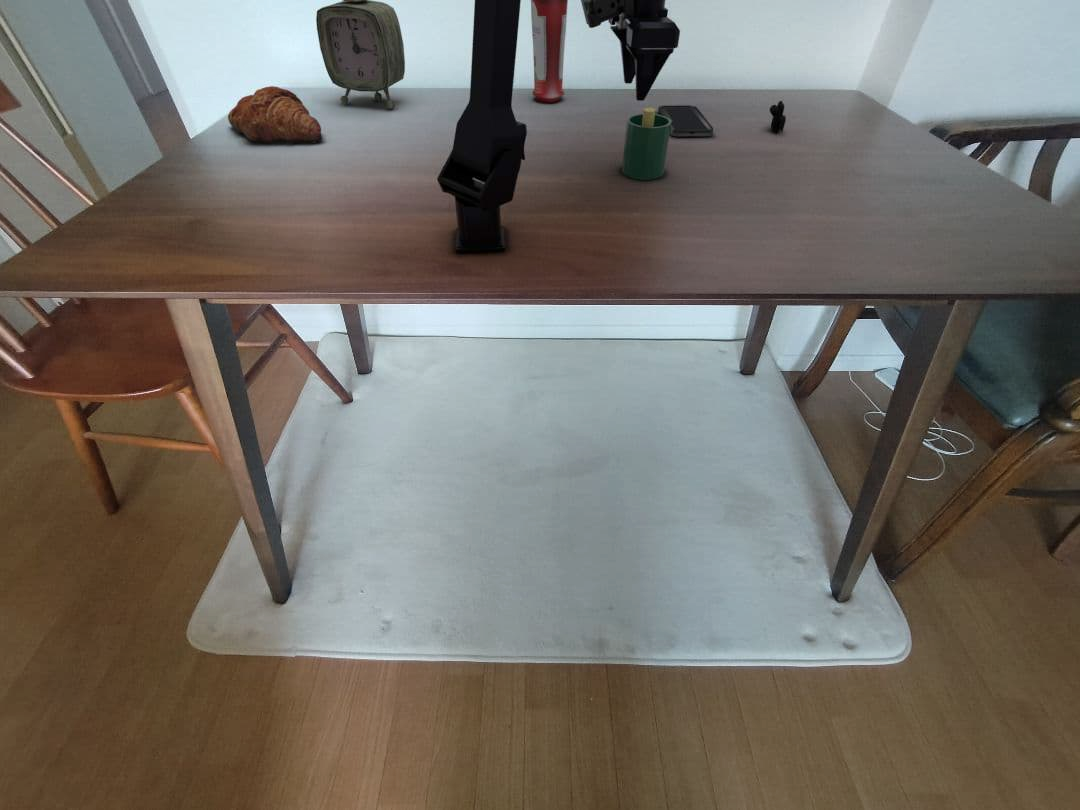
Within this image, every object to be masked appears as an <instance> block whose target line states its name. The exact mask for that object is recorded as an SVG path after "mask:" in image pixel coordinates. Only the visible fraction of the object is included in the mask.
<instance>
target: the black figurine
mask: <svg viewBox="0 0 1080 810" xmlns="http://www.w3.org/2000/svg"><path fill="white" fill-rule="evenodd" d="M784 112H785V104H784V103H783V100H779V101H778V102H777V104H772V105H771V106H770V107H769V113H770V114H771V117H772V119H771V123H770V128H771V130H772V132H773V133H779V132H781V133H783V132H784V129H785V126H786V125H785V124H786V122H787V117H786V115H784Z"/></svg>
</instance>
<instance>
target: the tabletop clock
mask: <svg viewBox="0 0 1080 810" xmlns="http://www.w3.org/2000/svg"><path fill="white" fill-rule="evenodd" d="M315 22H316V31H317V32H316V33H317V38H318V44H319V50H320V53H321V56H322V60H323V63H324V66H325V70H326V72H327V74H328V77H329V78H330V81H331V82H332V84H334V85H336V86H337V87H339V88H342V89H345V94H344V95H342V96H341V97H340V102H341V103H342V104H343V105H348V103H349V101H350V100H349V95H350V92H351V91H356V92H372V93H373V92H374V99H375V100H376V101H377V102H380V101H382V100H383V94H382V93H381V92H382V91H383V92H384V95H385V98H386V99H387V102H386V107H387V109H389V110H393V109H394V108H395V105H396V104H395V102H394V100H391V96H390V92H389V88H390V87H392V86H393V85H395V84H397V83H399V82H400V81H402V80H404V77H405V73H406V58H405V45H404V39H403V35H402V30H401V25H400V21H399V18H398V14H397V13H396V10H395V8H394V7H393V6H391V5H390V4H388V3H385V2H382V1H377V0H341V1H339V2H335V3H333V4H329V5H326V6H323V7H321V8H319V9H317V10H316V17H315Z"/></svg>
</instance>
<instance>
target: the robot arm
mask: <svg viewBox="0 0 1080 810" xmlns="http://www.w3.org/2000/svg"><path fill="white" fill-rule="evenodd" d="M580 2H581V6H582V11H583V15H584V19H585V23H586V25H588V28H590V29H594V28H596V27H599V26H601V24H602V23H604V22H607V21H608V23H609V24H610V27H609V29H610V30H611V32H612V33H613V34H614V35H615V37H616V38H617V39H618V40H619V44H620V52H621V63H622V73H623V81H624V82H623V83H624V84H626V85H627V84H629V85H630V84H632V83H633V81H634V79H635V99H636V101H638V102H639V101H640V102H642V101H645V100H646V98H647V96H648V94H649V92H650V91H651V89H652V87H653V85H654V84H655V82H656V80H657V78H658V76H659V75H660V72H661V71H662V68H663V67H664V66H665V64H666V62H667V61H668V59H669V57H670V55H672V54H673V53H674V50H675V49H677V48H679V42H680V35H681V29H680V28H679V27H678V25H677V24H676V22H675V21H674V20H672V19H671V18H670V17H668V14H669V9H668V8H667V7H666V0H580ZM521 3H522V0H474V9H473V27H472V46H471V47H472V48H471V51H472V52H471V64H470V65H471V66H470V87H469V100H468V103H467V105H466V107H465V108H464V110H463V112H462V113H461V115H460V117H459V118H458V121H457V123H456V125H455V131H454V132H455V133H454V138H453V143H452V144H453V145H452V150H451V152H450V153H449V155H448V157H447V158H446V161H445V163H444V164H443V166H442V169H441V171H440V172H439V173H438V176H437V178H436V179H437V182H438V185H439V186H440V190H441V191H442V193H445V194H448V195H450V196H453V197H454V203H455V213H456V223H457V227H456V228H455V245H454V246H455V247H454V248H455V252H456V253H484V252H504V251H505V250H506V241H505V227H504V226H503V225H502V221H501V206H503V205H505V204H508V203H510V202H513V199H514V195H515V190H516V185H517V181H518V177H519V173H520V170H521V165H522V161H525V160H526V156H525V154H526V153H525V144H526V138H527V136H528V135H527V134H528V130H527V125H526V123H524V122H520V121H517V120H516V116H515V113H514V110H513V104H512V103H513V92H514V79H515V71H516V70H515V68H516V59H517V45H518V35H519V25H520V13H521Z"/></svg>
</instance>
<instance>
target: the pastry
mask: <svg viewBox="0 0 1080 810" xmlns="http://www.w3.org/2000/svg"><path fill="white" fill-rule="evenodd" d="M227 121H228V123H229V124H230V126H231V127H232V128H233V129H235V130H236V131H238V132H239V133H240V134H241V135H244V136H245V137H246V138H247V139H248V140H250V141H251V142H253V143H257V144H258V143H259V144H267V143H269V144H271V143H272V144H273V143H278V142H279V143H280V142H288V143H308V144H310V143H311V144H312V143H317V142H321V141H322V140H323V136H322V127H321V124H320V122H319V121H318V120H317V119H316V118H315V117H313V116H311V114H310V112H309V110H308V109H307V108H306V106H305V105H304V103H303V101H302V100H301V99H300V98H299V97H298V96H297V94H295V93H294V92H292V91H291V90H289V89H285V88H281V87H278V86H274V85H272V86H265V87H262V88H259V89H256V90H255V92H254V93H253V94H248V95H246V96H243V97H241V98H240V99H239V100H238V102H237V103H236V105H235V106H234V107H233V108H232V109H231V110H230V111H229V113H228V114H227Z"/></svg>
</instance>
